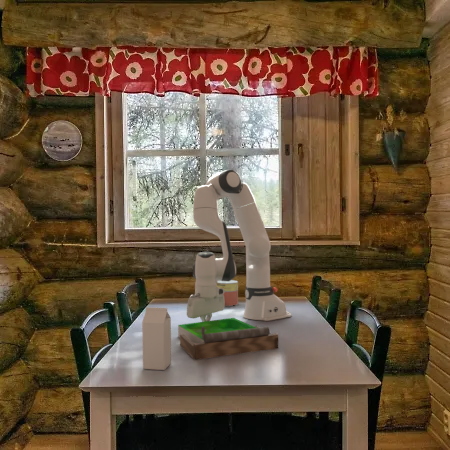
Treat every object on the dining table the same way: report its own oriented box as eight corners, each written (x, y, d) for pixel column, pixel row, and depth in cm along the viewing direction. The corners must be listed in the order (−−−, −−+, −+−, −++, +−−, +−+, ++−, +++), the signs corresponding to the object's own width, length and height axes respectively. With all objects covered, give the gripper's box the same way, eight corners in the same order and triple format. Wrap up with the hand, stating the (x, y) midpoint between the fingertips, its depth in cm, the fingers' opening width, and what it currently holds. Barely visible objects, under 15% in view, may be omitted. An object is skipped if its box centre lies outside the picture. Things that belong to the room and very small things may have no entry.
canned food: (213, 303, 248) (213, 280, 248) (232, 301, 253) (232, 279, 253) (222, 307, 238) (222, 283, 238) (241, 305, 243) (241, 282, 242)
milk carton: (164, 370, 144) (163, 310, 144) (142, 369, 146) (141, 309, 145) (171, 363, 151) (170, 305, 151) (150, 362, 153) (150, 305, 152)
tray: (204, 354, 161) (204, 340, 161) (178, 337, 183) (178, 324, 183) (265, 344, 173) (265, 331, 172) (233, 329, 195) (233, 317, 195)
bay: (256, 335, 183) (256, 309, 183) (279, 348, 166) (278, 319, 166) (180, 345, 171) (179, 317, 171) (195, 360, 154) (195, 329, 154)
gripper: (194, 296, 180) (194, 331, 180) (226, 289, 196) (227, 321, 196) (182, 294, 184) (183, 329, 184) (215, 287, 200) (215, 319, 200)
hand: (206, 325), depth 190 cm, fingers closed
